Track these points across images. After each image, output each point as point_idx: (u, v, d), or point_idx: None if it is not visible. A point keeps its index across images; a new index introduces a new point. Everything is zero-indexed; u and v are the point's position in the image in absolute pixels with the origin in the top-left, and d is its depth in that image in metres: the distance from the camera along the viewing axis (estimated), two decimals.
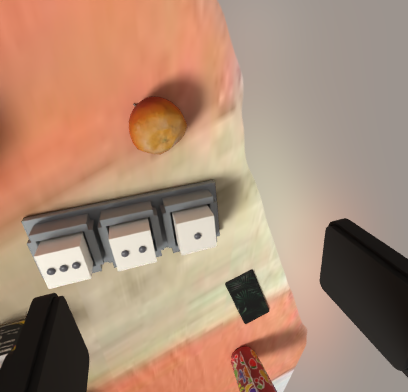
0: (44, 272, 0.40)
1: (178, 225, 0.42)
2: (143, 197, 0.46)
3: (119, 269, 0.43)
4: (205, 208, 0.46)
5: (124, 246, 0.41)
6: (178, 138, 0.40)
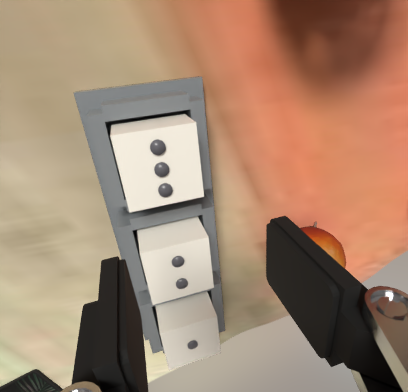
0: (155, 134, 0.20)
1: (214, 319, 0.29)
2: None
3: (144, 255, 0.23)
4: None
5: (190, 259, 0.25)
6: None
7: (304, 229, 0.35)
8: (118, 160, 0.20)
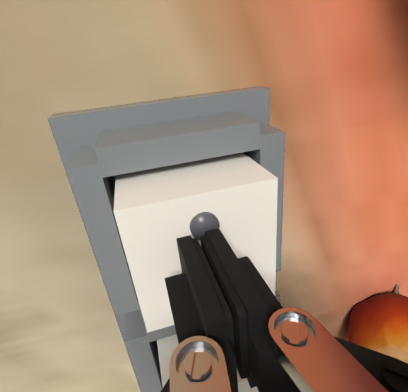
0: (202, 204, 0.10)
1: None
2: None
3: None
4: None
5: None
6: None
7: (389, 301, 0.24)
8: (129, 253, 0.10)
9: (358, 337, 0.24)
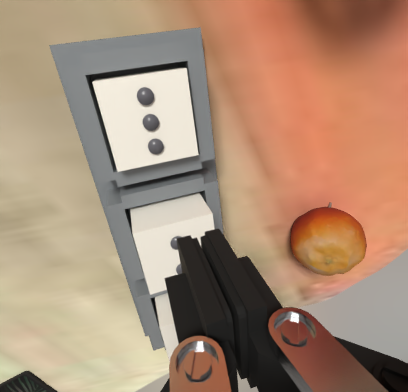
0: (142, 81, 0.18)
1: None
2: None
3: (137, 235, 0.20)
4: None
5: None
6: (320, 271, 0.31)
7: (318, 209, 0.31)
8: (102, 111, 0.18)
9: (294, 237, 0.31)
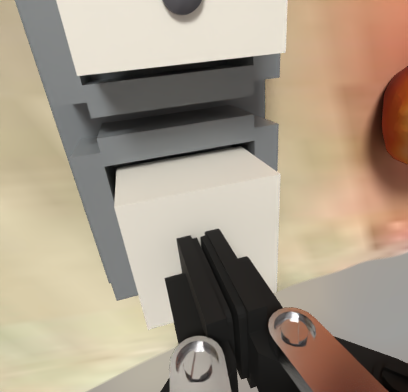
0: None
1: (272, 182, 0.10)
2: None
3: None
4: None
5: None
6: None
7: None
8: None
9: (403, 90, 0.16)
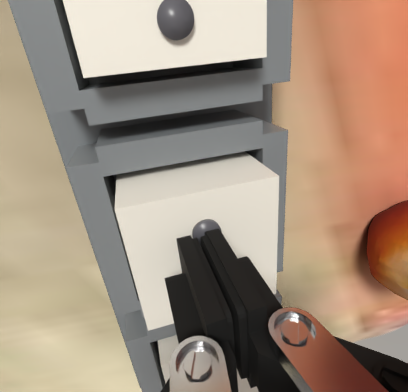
0: None
1: None
2: None
3: (126, 214, 0.09)
4: None
5: (235, 229, 0.11)
6: None
7: None
8: None
9: (381, 243, 0.20)
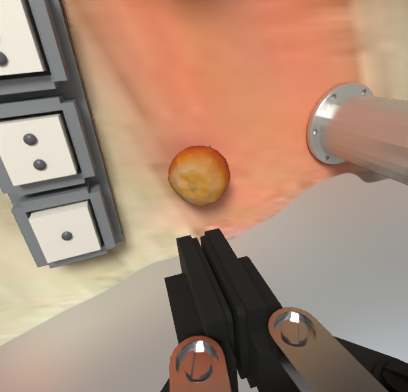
0: None
1: (84, 209, 0.31)
2: (99, 157, 0.34)
3: None
4: (99, 233, 0.36)
5: (44, 139, 0.27)
6: (191, 200, 0.36)
7: (191, 146, 0.36)
8: None
9: (169, 169, 0.36)
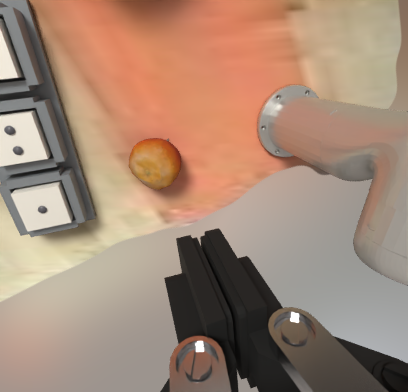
0: None
1: (56, 188, 0.39)
2: (71, 147, 0.41)
3: None
4: None
5: (20, 130, 0.35)
6: (148, 184, 0.43)
7: None
8: None
9: None
